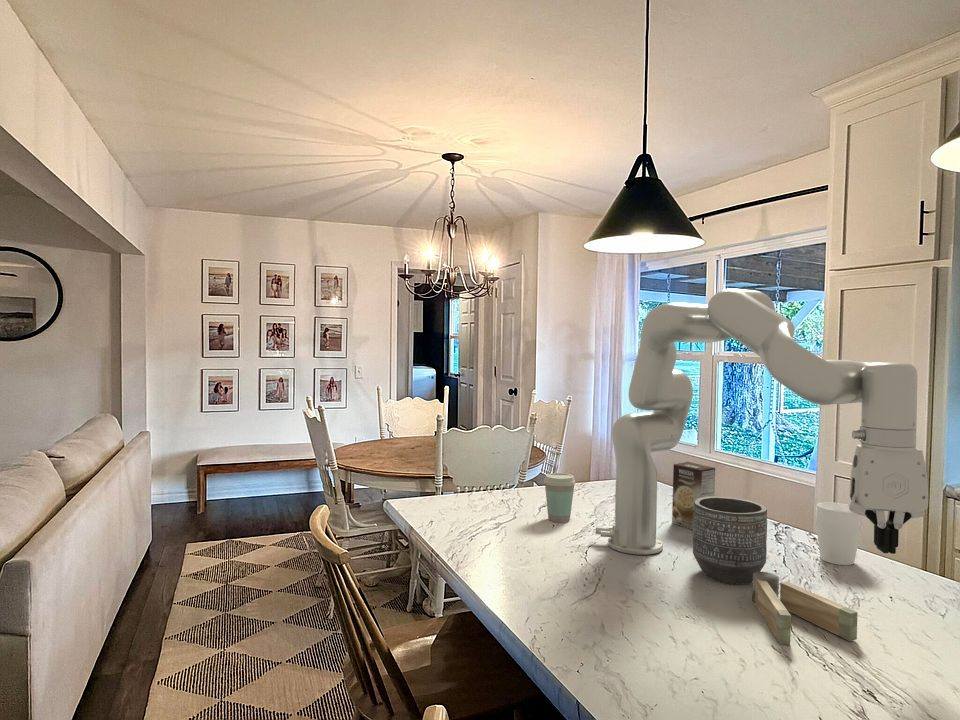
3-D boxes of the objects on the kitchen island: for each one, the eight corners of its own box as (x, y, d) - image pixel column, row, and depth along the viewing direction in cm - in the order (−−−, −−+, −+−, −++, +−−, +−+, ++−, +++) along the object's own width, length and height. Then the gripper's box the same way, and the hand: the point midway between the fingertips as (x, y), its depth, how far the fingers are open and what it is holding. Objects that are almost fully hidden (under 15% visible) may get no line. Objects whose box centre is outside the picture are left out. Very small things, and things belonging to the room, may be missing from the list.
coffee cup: (579, 518, 173) (580, 474, 172) (566, 526, 166) (567, 480, 165) (551, 513, 177) (552, 471, 177) (537, 520, 170) (538, 476, 170)
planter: (760, 594, 122) (761, 517, 121) (684, 579, 129) (686, 506, 129) (770, 572, 134) (772, 502, 133) (700, 559, 141) (702, 492, 141)
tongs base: (778, 644, 102) (779, 613, 101) (749, 596, 120) (750, 570, 120) (807, 646, 101) (808, 615, 101) (774, 598, 120) (775, 572, 119)
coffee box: (670, 523, 169) (671, 463, 169) (685, 519, 173) (687, 461, 172) (699, 532, 161) (700, 469, 161) (715, 528, 165) (716, 467, 165)
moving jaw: (849, 641, 102) (850, 613, 102) (779, 606, 115) (780, 582, 115) (856, 639, 103) (857, 612, 103) (786, 605, 116) (787, 581, 116)
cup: (867, 569, 136) (868, 513, 136) (821, 565, 138) (823, 511, 137) (851, 555, 145) (853, 503, 145) (808, 552, 147) (810, 500, 146)
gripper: (846, 440, 100) (844, 555, 100) (952, 443, 97) (949, 561, 98) (829, 434, 107) (827, 541, 108) (927, 436, 105) (925, 546, 105)
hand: (885, 550), depth 103 cm, fingers closed
